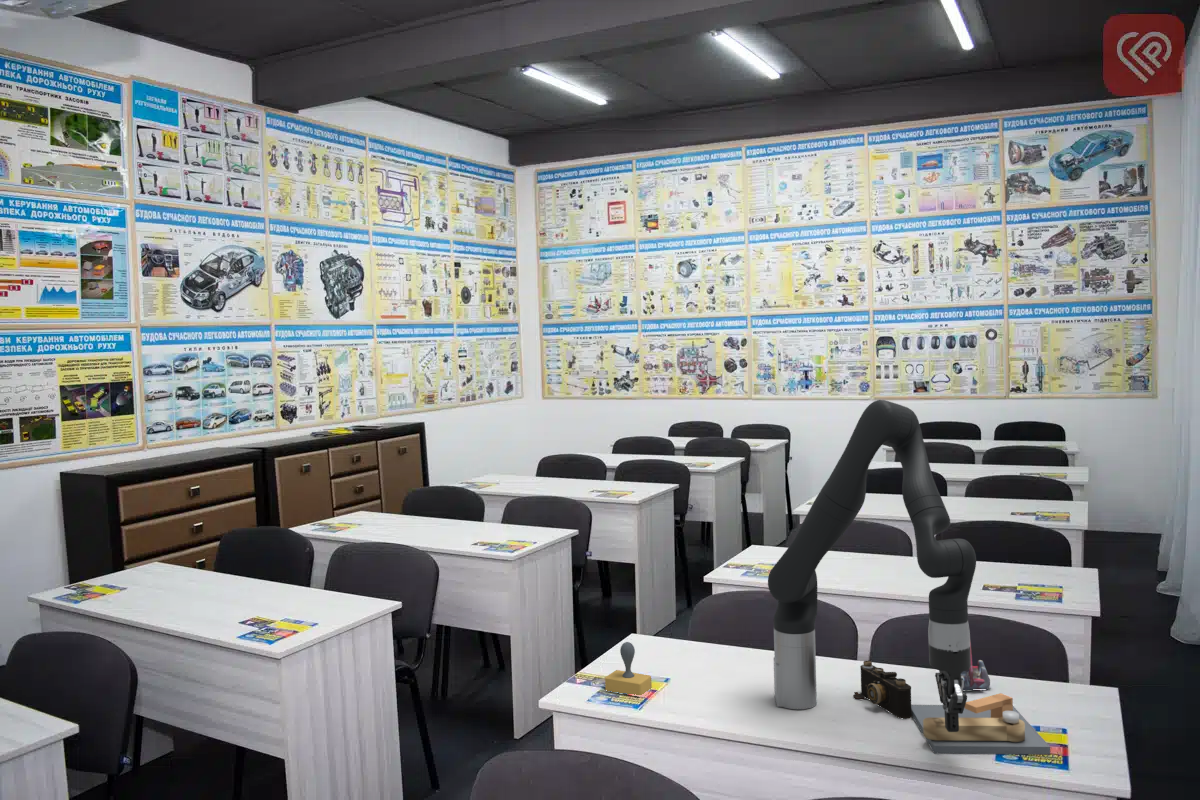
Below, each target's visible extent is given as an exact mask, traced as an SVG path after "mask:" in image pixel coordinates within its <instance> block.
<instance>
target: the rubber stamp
mask: <svg viewBox="0 0 1200 800" xmlns="http://www.w3.org/2000/svg"><path fill="white" fill-rule="evenodd" d="M619 650H620V651H619V652H620V656H621V660H622V661H623V664H624V667H625V670H619V669H616V670H614V671H613V672H611V673H609V674H608V675H606V676H604V683H605V685H604V687H605V691H606V690H607V691H612V692H619V693H627V694H634V695H635V694H636V695H642V694H644V693H645V692H646V691H648V690H649V689H651V688H653V686H652V683H653V682H652V675H649V674H644V673H636V672H632V663H633V660H634V658H635V653H636V651H635V646H634V645H633V643H632V642H629V641H625V642H623V643H622V644H621V646H620V649H619ZM612 692H611V693H612Z"/></svg>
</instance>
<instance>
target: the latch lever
mask: <svg viewBox="0 0 1200 800" xmlns="http://www.w3.org/2000/svg"><path fill="white" fill-rule="evenodd" d="M922 735H923V737H924V738H927V739H931V740H972V741H1011V742H1020V741H1023V740H1024V739H1025V723H1024V721H1022V720H1020V719H1019V722H1018V723H1007V722H1005V721H1003V717H1001V718H959V731H958V732H948V731H947V729H946V728H945V718H925V719H924V720H923V734H922Z"/></svg>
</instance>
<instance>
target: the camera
mask: <svg viewBox="0 0 1200 800" xmlns="http://www.w3.org/2000/svg"><path fill="white" fill-rule="evenodd" d="M897 673H898V672H896V671H884V668H882V667H877V666H875V665H873V662H872V661H871V660H864V661H863V664H862V665H860V693H859V692H858V691H854V694H853V696H852V697H853V699H854V698H855V699H854V700H856V699H863V700H864V701H869V702H870V703H872V704H874V705H876V706H878V705H879V706H878V707H880V706H881V707H882V708H881V707H880V708H881V709H883V708H884V710H885V711H886V710H887V711H886V712H888V711H889V712H888V713H889V714H891V713H892V715H893V716H894V717H896V716H897V717H896V718H898V717H899V718H898V719H901V718H903V719H902V720H908V719H909V720H910V719H912V718H913V717H912V714H911V705H912V686H911V685H910V684H908V683H906V682H907V681H906V679H905V678H897V676H898V674H897ZM865 697H866V698H865ZM867 698H868V699H870V700H868V699H867Z"/></svg>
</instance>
